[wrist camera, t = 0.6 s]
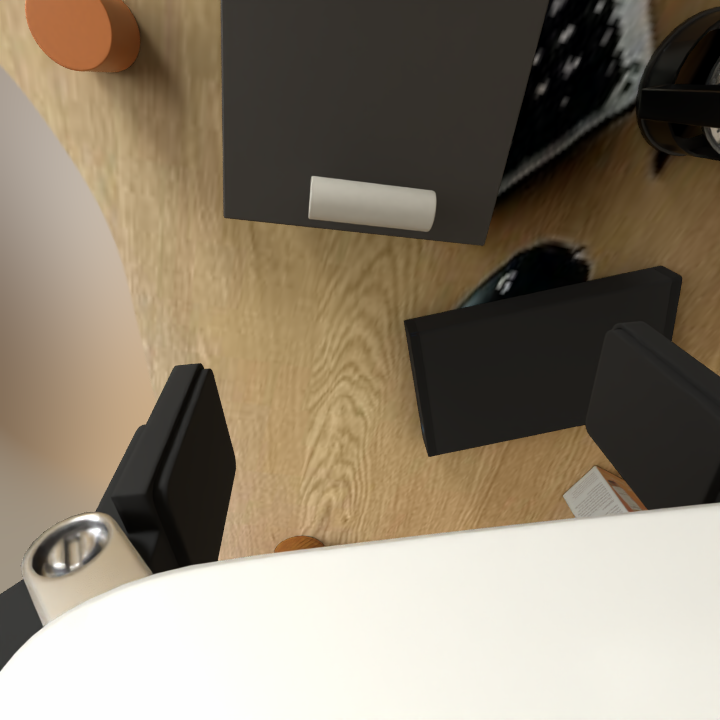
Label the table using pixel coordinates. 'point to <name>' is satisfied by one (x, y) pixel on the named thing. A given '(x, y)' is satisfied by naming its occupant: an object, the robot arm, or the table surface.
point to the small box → (601, 495)
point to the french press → (681, 94)
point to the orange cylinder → (85, 33)
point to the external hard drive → (525, 357)
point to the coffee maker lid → (373, 111)
